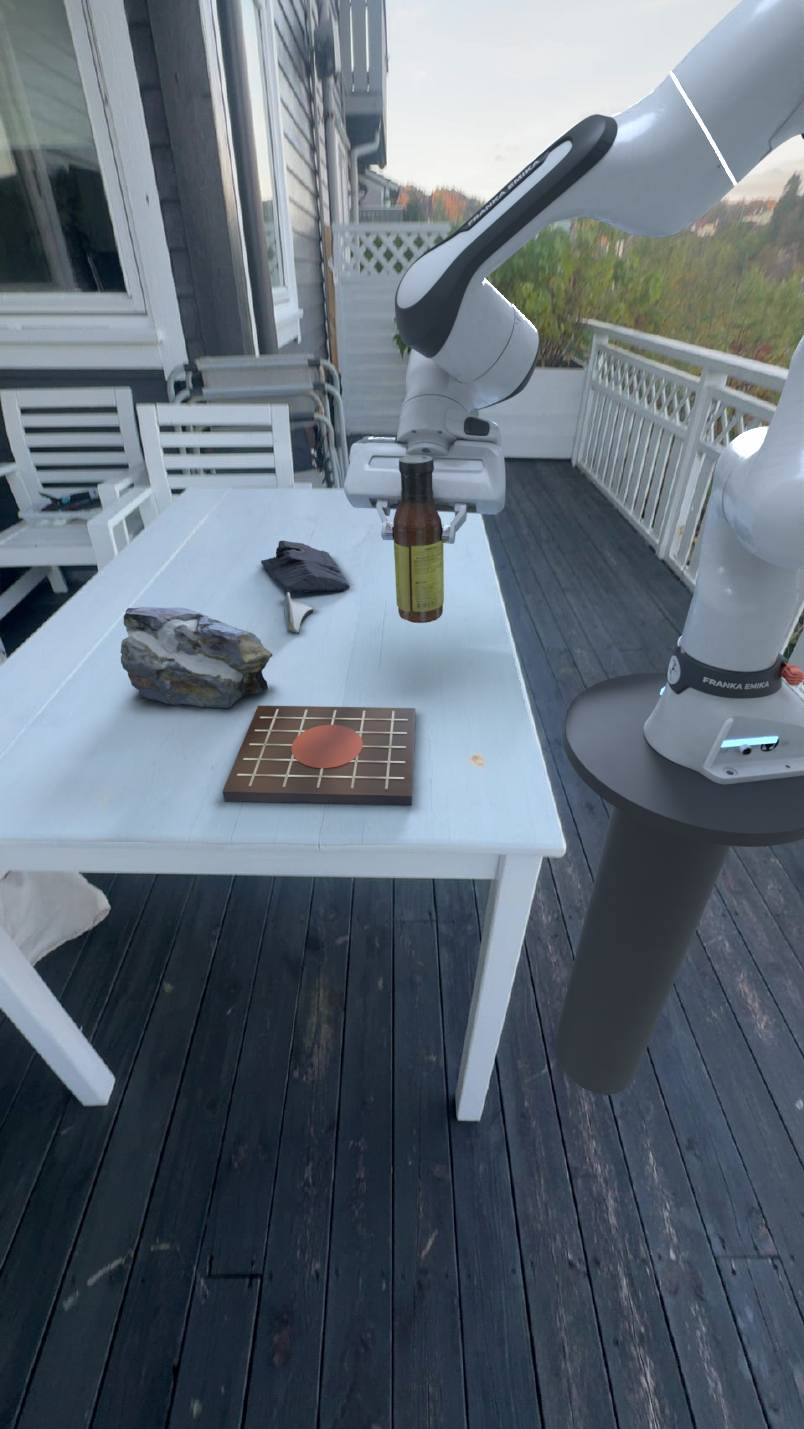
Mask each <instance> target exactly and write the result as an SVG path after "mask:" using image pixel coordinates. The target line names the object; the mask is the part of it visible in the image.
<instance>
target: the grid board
mask: <svg viewBox="0 0 804 1429" xmlns="http://www.w3.org/2000/svg"><path fill="white" fill-rule="evenodd" d="M415 736H416V707H383V706H382V707H379V706H378V707H377V706H321V705H316V706H315V705H313V706H312V705H311V706H310V705H260V704H259V705H257V707H256V710H255V712H254V714H253V717H252V718H251V722H250V724H249V726H248V729H247V731H246V733H245V736H244V738H243V741H242V743H241V746H240V748H239V751H238V753H237V755H236V758H235V760H234V762H233V765H232V767H231V770H230V772H229V775H228V777H227V779H226V782H225V785H224V787H223V789H222V795H223V801H225V802H252V803H253V802H254V803H295V804H297V803H298V804H299V803H300V804H308V803H309V804H343V805H344V804H345V805H389V806H391V805H393V806H395V805H396V806H412V805H413V788H414V787H413V786H414V766H415V765H414V763H415V761H414V760H415V740H416V739H415V738H416V737H415Z"/></svg>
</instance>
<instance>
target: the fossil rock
mask: <svg viewBox="0 0 804 1429" xmlns="http://www.w3.org/2000/svg"><path fill="white" fill-rule="evenodd" d="M123 626H124V627H125V630H126V633H127V637H126V638H123V639H122V640H121V643H120V654H121V655H120V663H121V664H120V665H121V666H122V669H123V670H125V671H126V672H127V677H128V679H129V681H130V683H131V686H132V687H134V689H136V690H138V693H137V695H138V696H139V697H143V698H146V699H148V700H152V701H157V702H160V703H163V704H166V705H171V706H180V705H188V706H195V707H200V708H221V709H229V708H231V707H232V706H233V705H234V704H235V703H236V702H238V701H239V700H240V699H241V698H242V697H244V696H247V695H256V694H261V693H263V692H266V691H268V690H269V685H268V681H267V680H266V679H265V678H264V677H265V676H264V675H263V670H264V669H265V668H266V666H267V664H268V663H269V661H270V658H272V657H273V653H272V651H270V650H269V649H268V648H266V647H265V646H264V644H263V643H262V640H261V639H260V638H259V637H258V636H257V635H256V634H254V633H253V632H250V631H247V630H244V629H241V628H237V627H235V626H232V625H231V624H228V623H226V622H224V621H220V620H218V619H215V618H213V617H210V616H208V615H205V614H203V613H201V612H197V611H194V610H192V609H189V608H185V607H153V606H148V607H147V606H145V607H144V606H141V607H128V608H127V609H126V610H125V614H123Z"/></svg>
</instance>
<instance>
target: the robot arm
mask: <svg viewBox="0 0 804 1429" xmlns="http://www.w3.org/2000/svg"><path fill="white" fill-rule="evenodd" d="M670 74H671V75H670ZM670 74H668V75H666V77H665V78H664V79H663V80H662V81H661V82H660V83H659V84H658V85H657V86H656V87H655V88H654V89H653V90H652V91H651V92H649V93H648V94H647V95H646V96H644V97H643V98H641V99H640V100H639V101H638V102H636V103H634V104H633V105H631V106H629V107H628V108H626V109H624V110H622V111H620V112H618V113H615V114H612V115H610V116H607V115H603V114H599V113H596V114H591V115H589V116H587V117H584V118H583V119H581V120H580V121H579V122H577V123H576V124H574V125H573V126H571V127H570V128H569V129H568V130H566V131H565V132H564V133H562V134H561V135H560V136H559V137H558V138H556V139H555V140H554V141H553V142H551V143H550V144H549V145H548V146H547V147H546V148H545V149H544V150H543V151H541V152H540V153H539V154H538V155H536V157H535V158H533V160H531V161H530V162H529V163H528V164H526V166H524V168H522V169H521V171H519V172H518V173H517V174H516V175H515V176H514V177H513V178H512V179H511V180H509V182H507V183H506V184H505V185H504V186H503V187H502V188H501V189H500V190H498V192H497V193H495V195H493V196H492V197H491V198H490V199H489V200H488V201H486V203H485V204H483V206H482V207H480V208H479V209H478V210H477V211H476V212H475V213H474V214H473V215H471V216H470V217H469V218H468V219H467V220H466V221H465V222H464V223H463V224H461V225H460V226H459V227H458V228H457V229H456V230H455V231H453V232H452V233H451V234H450V235H448V236H447V237H446V238H444V239H442V241H440V242H438V243H437V244H435V245H433V246H432V247H431V248H429V249H428V250H426V251H425V252H424V253H422V254H421V255H420V256H419V257H417V258H416V260H414V261H413V262H412V264H411V265H410V266H409V267H408V268H407V270H406V271H405V273H404V274H403V275H402V278H401V280H400V281H399V284H398V286H397V288H396V292H395V295H394V312H395V314H394V315H395V321H396V325H397V330H398V333H399V336H400V340H401V341H402V343H403V344H404V345H406V346H407V347H409V348H411V350H410V354H409V357H408V362H407V368H406V373H405V379H404V388H405V399H404V400H403V403H402V405H401V408H400V414H399V421H398V426H397V434H396V436H372V435H370V436H369V435H368V436H367V435H366V436H363V437H362V439H359V440H357V441H355V442H354V443H352V444H351V446H350V450H349V457H348V463H349V464H348V468H347V471H346V475H345V479H344V483H343V491H344V495H345V498H346V499H347V501H348V502H349V504H350V505H351V506H352V507H353V508H354V509H355V508H356V509H373V510H374V509H375V510H376V511H377V515H378V517H379V519H380V521H381V523H382V526H381V533H380V535H381V538H382V540H383V541H394V525H393V521H389V520H388V517H390V515H391V510H393V511H394V510H395V511H396V510H397V508H398V506H399V504H400V502H401V491H402V488H401V473H400V471H399V459H400V458H402V457H405V456H411V455H425V456H430V457H432V458H433V463H434V470H433V472H432V490H433V499H434V502H435V506H436V509H437V512H438V513H453V514H454V518H453V519H452V520H451V522H450V523H449V524H442V528H443V529H442V530H443V532H442V543H443V544H447V545H449V544H450V545H454V544H455V542H456V533H457V532H458V531H459V530H460V529H461V528H462V526H463V525H464V524H465V523H466V521H467V516H468V514H473V515H477V514H478V515H495V516H496V515H498V514H499V513H501V512H502V511H503V510H504V509H505V508H506V506H505V505H506V491H507V490H506V488H507V486H506V484H507V482H506V480H507V479H506V478H507V477H506V461H505V455H504V453H503V451H502V436H501V430H500V426H499V424H498V423H496V422H494V421H492V420H488V419H485V418H482V417H479V416H476V415H474V414H471V412H472V411H473V410H476V411H477V410H484V409H486V408H487V409H488V408H490V407H493V406H495V405H498V404H501V403H503V402H506V401H508V400H510V399H512V398H514V397H515V396H517V395H518V394H520V393H521V392H523V391H524V389H525V388H526V387H527V386H528V384H529V382H530V381H531V378H532V376H533V374H534V373H535V369H536V367H537V364H538V361H539V357H540V356H539V355H540V351H541V350H540V348H541V339H540V333H539V331H538V329H537V328H536V327H535V326H534V325H533V324H532V322H531V321H530V320H529V319H528V318H527V317H526V316H525V315H524V314H523V313H522V312H521V311H520V310H519V309H518V308H517V307H516V306H515V305H514V303H512V302H510V301H509V300H508V299H506V298H505V297H504V295H502V294H501V292H500V291H498V290H497V288H495V287H494V285H492V283H490V282H489V281H488V280H487V278H488V277H489V276H490V275H491V274H492V273H494V272H495V271H496V270H497V269H498V268H499V267H500V266H502V265H503V264H504V263H505V262H506V261H507V260H509V259H510V258H511V257H512V256H514V255H515V254H516V253H517V252H518V251H519V250H520V249H522V248H523V247H524V246H525V245H526V244H527V243H529V242H530V241H531V240H533V239H534V238H535V237H536V236H537V235H538V234H540V232H542V231H543V230H544V229H545V228H547V227H548V226H550V225H552V224H554V223H556V222H558V221H561V220H565V219H568V218H569V219H571V218H583V219H589V220H594V221H597V222H601V223H603V224H606V225H608V226H610V227H613V228H615V229H617V230H619V231H622V232H625V233H626V234H630V235H633V236H638V237H643V238H660V237H667V236H672V235H676V234H678V233H680V232H682V231H684V230H685V229H687V228H688V227H690V226H691V225H693V224H694V223H695V222H697V221H699V219H701V218H702V217H703V216H705V215H706V214H707V213H708V212H709V211H710V210H711V209H713V208H714V207H715V206H716V205H717V204H718V203H719V202H720V201H722V199H724V197H725V196H727V194H729V193H730V192H731V191H732V189H734V188H735V186H737V185H738V184H739V183H740V182H741V181H742V180H743V179H744V178H745V177H746V176H747V175H748V174H749V173H751V171H753V170H754V169H755V168H756V166H758V165H759V164H760V163H761V162H762V161H763V160H764V159H766V157H767V156H769V155H770V154H771V153H773V151H775V150H776V149H777V148H779V147H780V146H781V145H782V144H784V143H786V142H787V141H789V140H790V139H792V138H794V137H797V136H799V135H800V136H801V138H802V139H803V140H804V0H742V1H740V2H739V3H738V4H737V5H736V6H735V7H734V8H733V9H732V10H731V11H729V12H728V13H727V14H725V16H724V17H723V18H722V19H721V20H719V22H718V23H717V24H716V25H714V26H713V28H712V29H710V30H709V31H708V32H707V33H706V34H705V35H704V36H703V37H702V38H701V39H700V40H699V41H698V42H697V43H696V44H695V45H694V46H693V48H692V49H690V51H689V52H688V53H687V54H686V55H685V56H684V57H683V58H682V59H681V61H679V62H678V63H677V65H675V67H674V68H673V69H672V70H671V71H670ZM701 541H702V542H701V548H700V553H699V554H700V555H699V562H698V571H697V576H696V581H695V585H694V590H693V594H692V596H691V597H692V598H691V601H690V604H689V608H688V612H687V615H686V618H685V619H686V620H685V623H684V626H683V630H682V634H681V636H679V637H678V639H677V640H676V642H675V646H674V650H673V652H672V656H671V658H670V661H669V665H668V669H667V673H668V675H667V683H666V686H665V687H664V688H663V689H661V692H660V695H661V697H660V699H659V701H658V703H657V705H656V707H655V709H654V710H653V712H652V714H651V715H650V717H649V718H648V719H647V721H646V722H645V724H644V728H643V731H644V736H645V738H646V740H647V741H648V743H649V744H650V745H651V746H652V747H653V748H654V749H655V750H656V751H657V752H658V753H659V754H661V755H662V756H664V757H665V758H667V759H669V760H671V761H673V762H675V763H677V764H679V765H682V766H684V767H687V768H690V769H693V770H695V771H697V772H699V773H701V774H702V775H704V776H705V777H707V778H708V779H710V780H712V781H714V782H716V783H718V784H723V785H726V784H735V783H744V782H753V781H761V780H770V779H779V778H787V777H796V776H804V701H803V699H801V697H800V696H798V695H797V693H795V692H794V690H792V689H791V688H790V687H789V686H792V687H795V686H799V685H800V684H801V683H804V672H803V671H802V670H801V669H800V668H799V667H798V665H795V664H789V663H788V662H789V661H788V659H787V657H785V655H783V654H781V653H780V652H781V649H782V645H783V644H784V641H785V638H786V635H787V633H788V631H789V627H790V625H791V622H792V620H793V617H794V614H795V612H796V609H797V606H798V604H799V597H800V572H801V569H802V570H803V569H804V334H803V335H802V337H801V339H800V341H799V342H798V345H797V346H796V348H795V350H794V352H793V354H792V356H791V358H790V361H789V368H788V372H787V376H786V379H785V382H784V386H783V388H782V392H781V394H780V397H779V400H778V402H777V406H776V408H775V411H774V413H773V416H772V419H771V420H770V423H769V425H765V426H759V427H755V428H752V429H749V430H746V431H744V432H742V433H741V434H739V435H738V436H737V437H735V438H734V439H733V440H731V441H730V442H729V443H728V444H727V445H726V446H725V447H724V449H723V450H722V452H721V453H720V455H719V457H718V459H717V461H716V464H715V467H714V472H713V478H712V485H711V490H710V497H709V500H708V506H707V511H706V517H705V523H704V528H703V535H702V540H701ZM782 678H783V679H784V680H785V681H786V683H787V684H788V685H787V684H786V683H785V682H784V681H783V679H782Z"/></svg>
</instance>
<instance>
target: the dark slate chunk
mask: <svg viewBox="0 0 804 1429" xmlns="http://www.w3.org/2000/svg"><path fill="white" fill-rule="evenodd" d="M260 563H261V565H262V566H263V567H264V569H265V570H266V571H267V572H268V574H269V575H270V576H271V577H273V578H274V580H276V581H277V582H278V583H279V584H280V585H281V586H282V587H283V588H284V589H285V590H287V592H289V593H290V594H297V593H301V594H302V593H303V594H304V593H311V592H312V593H313V592H336V591H337V592H338V591H343V590H347V589H349V588H351V586H350V583H349V582H348V580H347V578H346V576H345V575H344V574H343V572H342V570H341V569H340V568H339V566H338V564H337V563H336V562H335V560H334V559H333V558H332V556H331V555H330V553H329V552H328V551H325V550H319V549H316V548H314V547H312V546H310V545H307V544H305V543H303V542H293V541H288V540H279V541H278V546H277V547H276V550H275V556H272V557H270V558H266V559H262V560H260Z"/></svg>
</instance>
